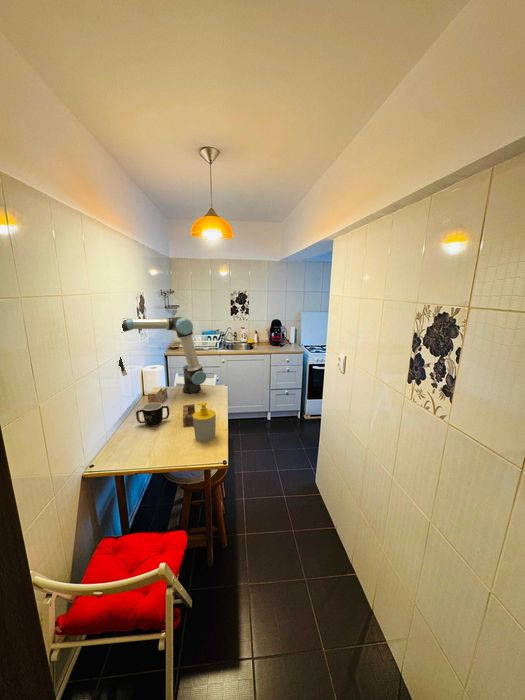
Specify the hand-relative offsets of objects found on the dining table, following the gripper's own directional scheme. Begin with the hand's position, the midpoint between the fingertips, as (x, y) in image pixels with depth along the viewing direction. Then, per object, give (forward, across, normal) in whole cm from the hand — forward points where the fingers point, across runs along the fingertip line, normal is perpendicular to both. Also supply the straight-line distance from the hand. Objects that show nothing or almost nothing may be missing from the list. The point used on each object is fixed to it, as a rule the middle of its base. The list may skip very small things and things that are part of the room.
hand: (125, 373), depth 188 cm
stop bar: (+38, +26, +28) cm, 54 cm away
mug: (+33, +22, +7) cm, 40 cm away
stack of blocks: (+32, -12, +14) cm, 37 cm away
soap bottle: (+42, +54, +31) cm, 75 cm away
